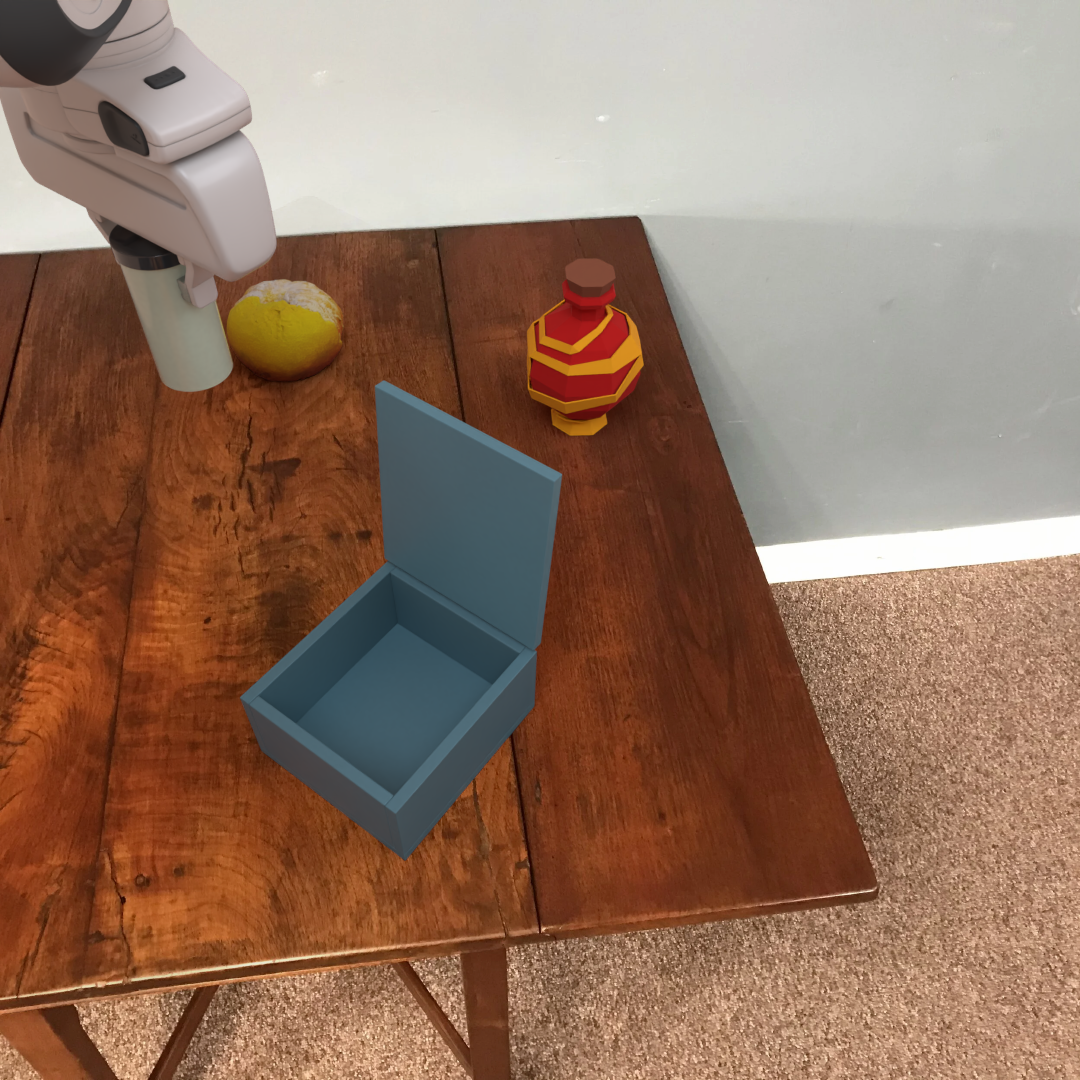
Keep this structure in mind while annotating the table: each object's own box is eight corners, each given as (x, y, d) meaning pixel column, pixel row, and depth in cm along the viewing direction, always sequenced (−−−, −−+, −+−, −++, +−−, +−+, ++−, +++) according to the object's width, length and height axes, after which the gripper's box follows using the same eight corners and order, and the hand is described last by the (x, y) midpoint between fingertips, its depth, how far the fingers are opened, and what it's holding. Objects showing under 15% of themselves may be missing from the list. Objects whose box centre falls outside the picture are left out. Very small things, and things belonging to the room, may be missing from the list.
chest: (405, 861, 58) (395, 813, 53) (261, 750, 62) (239, 697, 57) (534, 706, 65) (537, 651, 60) (397, 617, 70) (388, 559, 64)
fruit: (377, 340, 90) (350, 283, 83) (302, 416, 87) (268, 364, 80) (298, 292, 94) (266, 234, 87) (224, 364, 92) (185, 310, 84)
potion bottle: (619, 468, 80) (637, 324, 69) (505, 439, 82) (505, 294, 71) (649, 393, 87) (671, 250, 76) (544, 367, 89) (549, 224, 78)
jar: (152, 395, 66) (101, 259, 58) (162, 347, 70) (115, 211, 61) (232, 391, 67) (193, 254, 58) (238, 343, 70) (202, 208, 62)
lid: (554, 481, 49) (562, 473, 50) (374, 385, 54) (383, 379, 54) (533, 651, 59) (541, 643, 60) (384, 558, 64) (392, 552, 64)
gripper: (-61, 38, 54) (31, 250, 65) (177, 146, 47) (237, 365, 57) (35, 5, 58) (107, 212, 68) (270, 101, 50) (311, 316, 61)
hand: (168, 283), depth 63 cm, fingers closed on jar, 5 cm apart
